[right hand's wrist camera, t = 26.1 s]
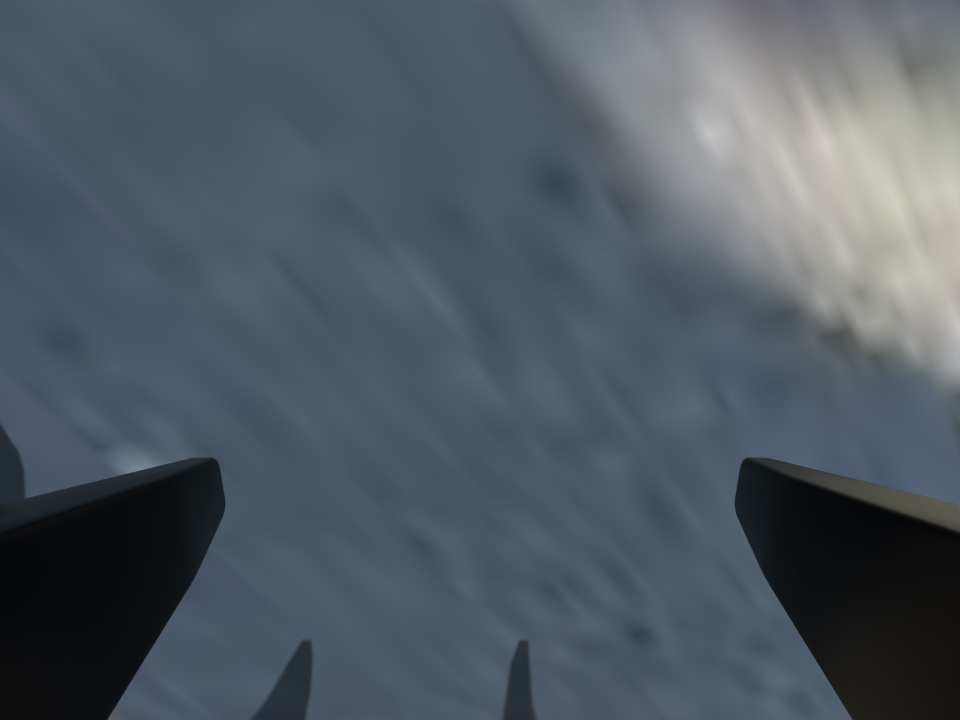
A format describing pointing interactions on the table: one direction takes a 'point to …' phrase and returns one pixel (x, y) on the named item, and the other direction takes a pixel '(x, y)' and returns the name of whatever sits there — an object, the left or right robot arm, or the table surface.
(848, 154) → the table surface
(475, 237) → the table surface
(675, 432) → the table surface
